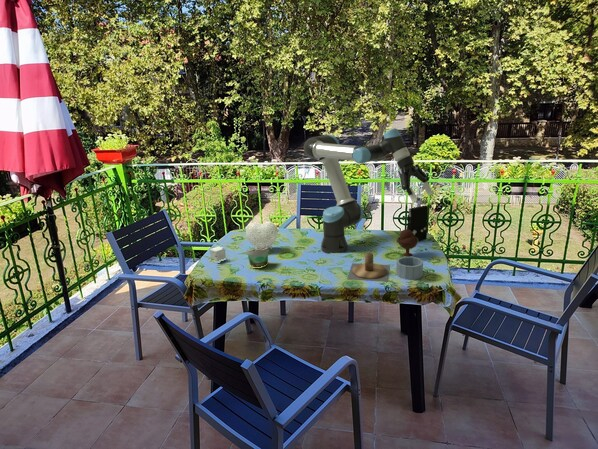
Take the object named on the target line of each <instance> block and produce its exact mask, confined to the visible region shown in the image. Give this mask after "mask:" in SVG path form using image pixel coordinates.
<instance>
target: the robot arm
mask: <svg viewBox="0 0 598 449" xmlns="http://www.w3.org/2000/svg"><path fill="white" fill-rule="evenodd" d="M303 152H304V154H305V155H306V156H307V157H308V158H310V159H318V160H319V162H320V163H322V164H323V166H324V169H325V172H326V175H327V178H328V180H329V184H330V186H331V189H332V192H333V195H334V198H335V200H336V205H335V206H330V207H327V208H325V209H324V210H323V212H322V230H323V238H322V241H321V245H320V250H321V251H322V252H323V253H326V254H341V253H344V252H347V251H348V250H349V245H348V242H347V241H348V240H347V239H346V236H345V229H347V228H349V227H351V226H354V225H357V224H358V223H360V222H361V221H362V220H363V217H364V208H363V207H362V205H361V204H360V203H358V202H357V201H356V199H355V198H353V197H352V195H351V193H350V190H349V186H348V185H347V184H348V183H347V181H346V179H345V176H344V173H343V170H342V167H341V164H340V162H339V160H342V161H352V162H354V163H357V164H365V163H369V162H375V163H376V162H379V161H381V160H383V159H384V158H386V157H387V156H388V155H390V154H391V155H392V156H393V158H394V161H395V162H396V165H397V166H398V168H399V170H398V171H397V172H398V174H399V180H400V186H401V187H400V188H401V190H403V191H405V192H407V195H408V196H409V199H410V200H411V203H413V202H416V201H418V198H417V195H416V193H415V191H414V190H413V187H411V177H415V178H416V179H417V180H419V181H420V182H421V183H422V185H423V186H422V187H423V189H424V190H425V192H426V194H427V196H430V195H432V194H434V192H433V190H432V188H431V186H430V183H429V181H430V177H429V176H428V175H427V174H426V173H425V171H423V170H422V169H421V167H420V166H419V164H418V163H416V164H415V165H414V163H415V161H414V159H413V156H412V155H411V153H410V151H409V149H408V147H407V145H406V143H405V141H404V139H403V137H402V134H401V132H400V131H399V130H398V128H391V129H389V130H387V131H386V132H384V133H383V139H382V140H381V141H380V142H378V143H376V144H373V145H368V146H361V145H350V144H349V145H348V144H340V141H339V139H338V138H337V137H336V136H335V135H333V134H322V135H319V136H312V137H309V138H308V139H307V140H306V141H305V142H304V143H303Z"/></svg>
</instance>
